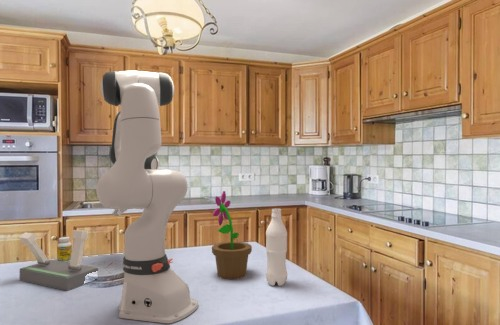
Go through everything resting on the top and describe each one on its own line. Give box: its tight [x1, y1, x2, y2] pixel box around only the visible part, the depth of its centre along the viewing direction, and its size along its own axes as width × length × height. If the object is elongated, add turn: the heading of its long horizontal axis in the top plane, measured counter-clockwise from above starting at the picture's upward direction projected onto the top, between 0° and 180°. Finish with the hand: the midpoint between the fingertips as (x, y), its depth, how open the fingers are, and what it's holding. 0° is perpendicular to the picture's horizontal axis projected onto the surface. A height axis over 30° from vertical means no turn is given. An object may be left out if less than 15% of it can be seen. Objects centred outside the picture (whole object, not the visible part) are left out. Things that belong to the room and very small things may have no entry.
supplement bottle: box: [56, 236, 73, 263], centre depth 146 cm, size 5×5×10 cm
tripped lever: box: [68, 229, 90, 271], centre depth 121 cm, size 4×3×13 cm, turn 65°
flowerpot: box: [211, 190, 253, 280], centre depth 129 cm, size 14×14×30 cm
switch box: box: [19, 259, 99, 292], centre depth 124 cm, size 24×12×4 cm, turn 65°
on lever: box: [18, 231, 51, 265], centre depth 124 cm, size 4×3×13 cm, turn 65°
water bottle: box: [265, 208, 288, 287], centre depth 119 cm, size 7×7×25 cm
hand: (115, 215), depth 137 cm, fingers closed
